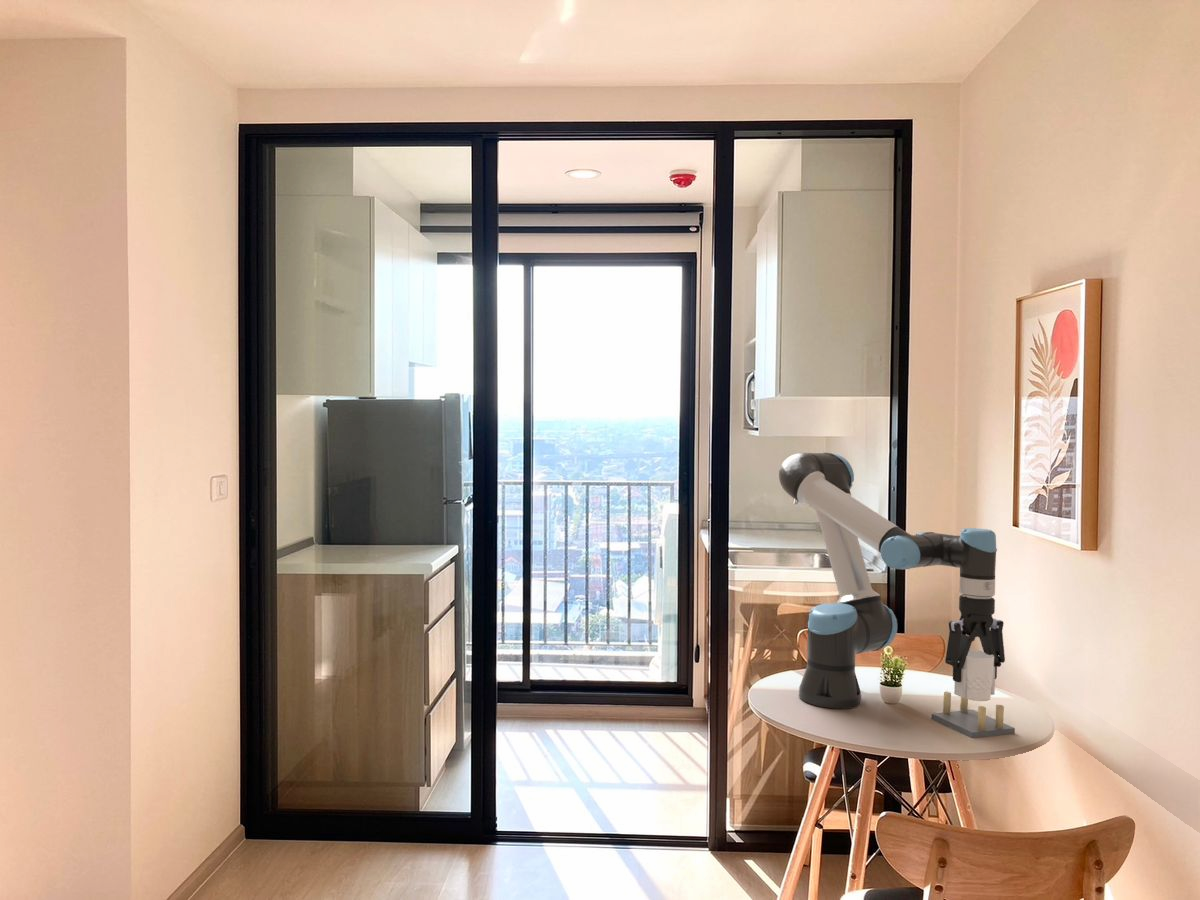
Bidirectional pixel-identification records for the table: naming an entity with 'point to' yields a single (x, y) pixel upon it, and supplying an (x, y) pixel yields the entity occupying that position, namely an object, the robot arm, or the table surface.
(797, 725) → the table surface
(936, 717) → the grey mug peg stand
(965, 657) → the robot arm
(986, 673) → the white cup
